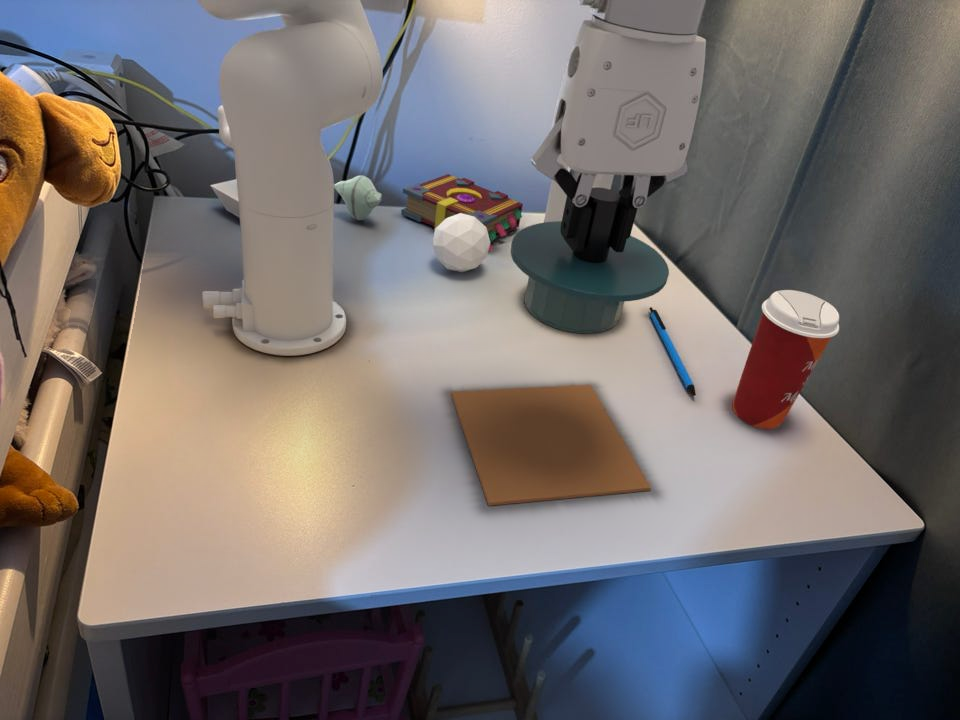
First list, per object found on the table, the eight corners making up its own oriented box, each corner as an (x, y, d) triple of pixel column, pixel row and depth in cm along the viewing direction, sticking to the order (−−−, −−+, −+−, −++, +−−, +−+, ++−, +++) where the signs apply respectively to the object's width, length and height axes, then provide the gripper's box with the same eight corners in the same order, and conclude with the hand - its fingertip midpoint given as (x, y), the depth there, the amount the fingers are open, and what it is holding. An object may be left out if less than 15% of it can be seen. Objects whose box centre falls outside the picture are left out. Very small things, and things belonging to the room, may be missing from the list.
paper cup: (797, 442, 77) (852, 333, 69) (725, 426, 78) (771, 316, 70) (786, 399, 83) (835, 295, 75) (719, 385, 84) (761, 280, 76)
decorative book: (445, 198, 119) (448, 169, 116) (526, 231, 112) (531, 201, 109) (400, 216, 111) (402, 185, 108) (484, 253, 104) (489, 221, 101)
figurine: (246, 229, 101) (239, 122, 92) (207, 206, 105) (197, 102, 97) (288, 217, 106) (286, 114, 97) (249, 195, 110) (244, 95, 102)
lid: (537, 310, 55) (553, 230, 51) (491, 232, 66) (502, 161, 62) (693, 306, 59) (719, 231, 55) (626, 233, 69) (644, 166, 65)
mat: (488, 506, 64) (488, 502, 63) (450, 394, 76) (451, 391, 76) (650, 490, 68) (651, 487, 68) (589, 387, 80) (590, 384, 80)
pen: (653, 311, 96) (655, 304, 96) (697, 400, 81) (701, 392, 80) (646, 310, 96) (648, 303, 95) (690, 399, 81) (693, 391, 80)
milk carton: (555, 230, 114) (580, 110, 103) (597, 244, 112) (627, 122, 101) (538, 246, 109) (563, 120, 98) (582, 260, 106) (612, 133, 96)
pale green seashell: (329, 216, 108) (329, 173, 104) (345, 208, 111) (345, 165, 107) (374, 231, 105) (376, 188, 102) (389, 222, 109) (392, 180, 105)
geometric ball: (467, 290, 100) (487, 266, 93) (416, 263, 99) (433, 237, 92) (486, 248, 103) (506, 222, 96) (437, 221, 102) (454, 192, 95)
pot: (541, 334, 88) (554, 273, 83) (513, 283, 98) (523, 226, 93) (634, 332, 91) (651, 273, 87) (598, 283, 101) (612, 227, 96)
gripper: (556, 8, 45) (513, 267, 56) (776, 30, 50) (698, 265, 60) (522, -12, 51) (488, 225, 62) (722, 8, 56) (659, 226, 66)
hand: (592, 243), depth 61 cm, fingers closed on lid, 3 cm apart
